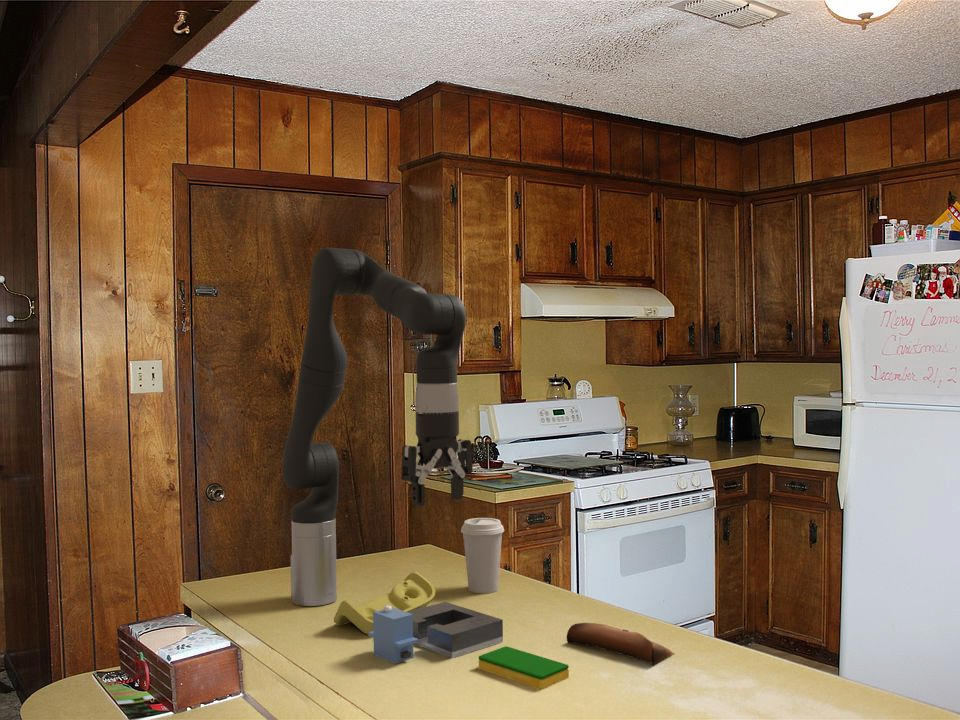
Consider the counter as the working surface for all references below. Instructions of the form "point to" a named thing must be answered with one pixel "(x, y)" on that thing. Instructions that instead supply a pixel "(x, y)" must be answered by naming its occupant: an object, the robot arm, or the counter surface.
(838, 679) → the counter surface
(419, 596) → the plastic component
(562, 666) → the dish sponge
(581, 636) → the sunglasses case
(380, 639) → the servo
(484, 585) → the coffee cup
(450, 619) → the grey hollow block
